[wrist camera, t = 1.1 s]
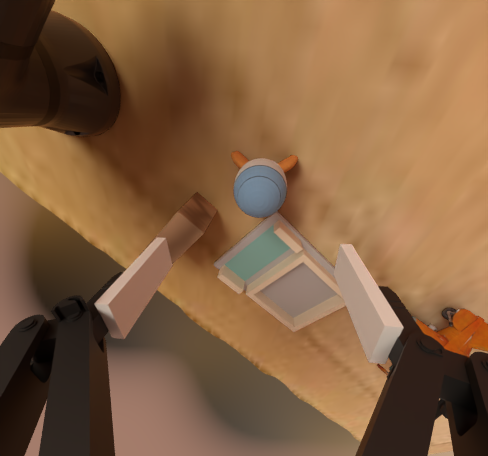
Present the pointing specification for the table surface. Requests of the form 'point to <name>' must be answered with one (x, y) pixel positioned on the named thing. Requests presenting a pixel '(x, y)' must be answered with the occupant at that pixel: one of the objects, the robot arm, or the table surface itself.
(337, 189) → the table surface
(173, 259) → the wing block
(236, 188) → the toy rocket
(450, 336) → the toy airplane
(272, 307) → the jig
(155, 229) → the table surface
